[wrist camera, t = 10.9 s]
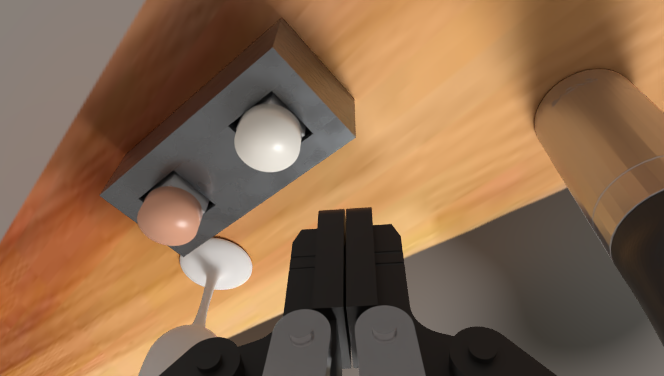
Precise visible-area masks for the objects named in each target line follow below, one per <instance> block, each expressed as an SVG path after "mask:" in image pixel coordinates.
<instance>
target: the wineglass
mask: <svg viewBox="0 0 664 376" xmlns="http://www.w3.org/2000/svg"><path fill="white" fill-rule="evenodd" d="M180 265H181V268H182V270H183V271H184V273H185V274H186V275H187V276H188V277H189V278H190V279H191V280H192V281H194V282H195V283H197V284H199V285H201V286H203V287H205V288H204V293H203V297H202V300H201V304H200V307H199V310H198V313H197V315H196V318H195V320H194V322H193V324H192V325H184V326H180V327H176V328H174V329H172V330H170V331H168V332H166V333H165V334H163V335H162V336H161V337H160V338H158V339H157V341H156V342H155V343H154V344H153V345H152V347H151V348H150V350H149V352H148V354H147V356H146V358H145V360H144V362H143V365H142V367H141V370H140V372H139V375H138V376H159V375H160V374H161V373H162V372H163V371H165V370H166V369H167V368H168V367H169V366H170V365H172V364H173V363H174V362H175V361H176V360H177V359H178V358H180V357H181V356H182V355H183V354H184V353H185V352H187V351H188V350H189V349H190V348H191V347H192V346H194V345H195V344H197V343H198V342H200V341H203V340H205V339H208V338H213V337H217V336H216V335H215V334H214V333H213V332H212V331H210V330H208V329H207V328H205V322H206V316H207V311H208V307H209V303H210V300H211V297H212V294H213V291H214V289H217V290H226V289H232V288H235V287H238V286H240V285H242V284H243V283H245V282H246V281H247V280H248V279H249V277H250V275H251V273H252V262H251V260H250V258H249V256H248V254H247V253H246V252H245V251H244V250H243V249H242V248H241V247H239V246H238V245H236V244H234V243H232V242H230V241H228V240H224V239H220V238H210V239H209V240H208V241H206V242H205V243H203V244H202V245H200V246H199V247H198V248H196V249H195V250H193V251H192V252H190V253H189V254H187V255H186V256H185V257H183V256H181V255H180Z"/></svg>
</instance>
